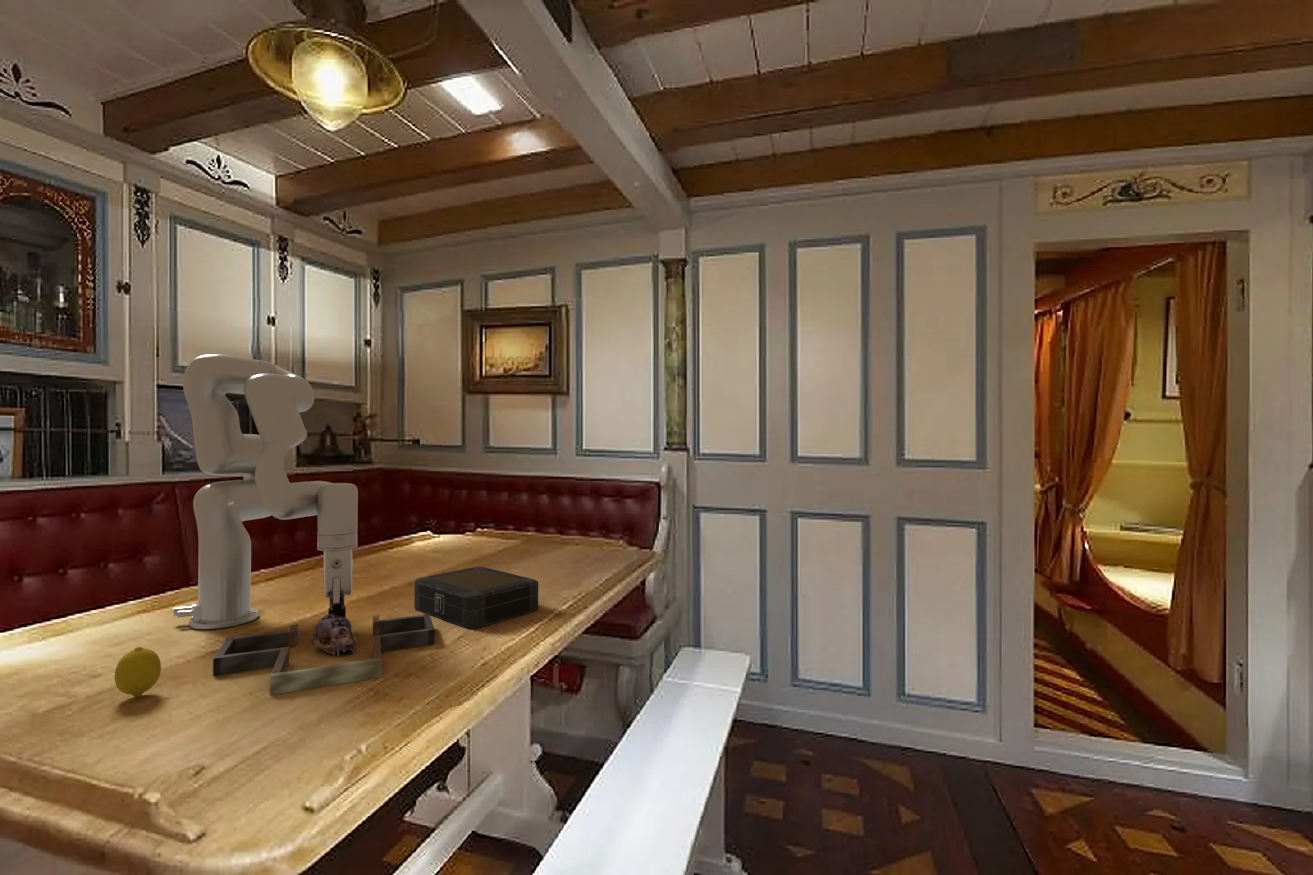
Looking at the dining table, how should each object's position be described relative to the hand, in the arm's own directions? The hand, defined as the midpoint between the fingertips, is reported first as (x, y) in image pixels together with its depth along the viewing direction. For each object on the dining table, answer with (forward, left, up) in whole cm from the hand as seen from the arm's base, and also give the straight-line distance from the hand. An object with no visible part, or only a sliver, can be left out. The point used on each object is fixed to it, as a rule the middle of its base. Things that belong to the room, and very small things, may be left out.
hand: (336, 626), depth 123 cm
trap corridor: (0, -14, -1) cm, 14 cm away
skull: (0, -10, -2) cm, 11 cm away
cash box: (+29, +5, -2) cm, 30 cm away
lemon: (-27, -21, -2) cm, 34 cm away
